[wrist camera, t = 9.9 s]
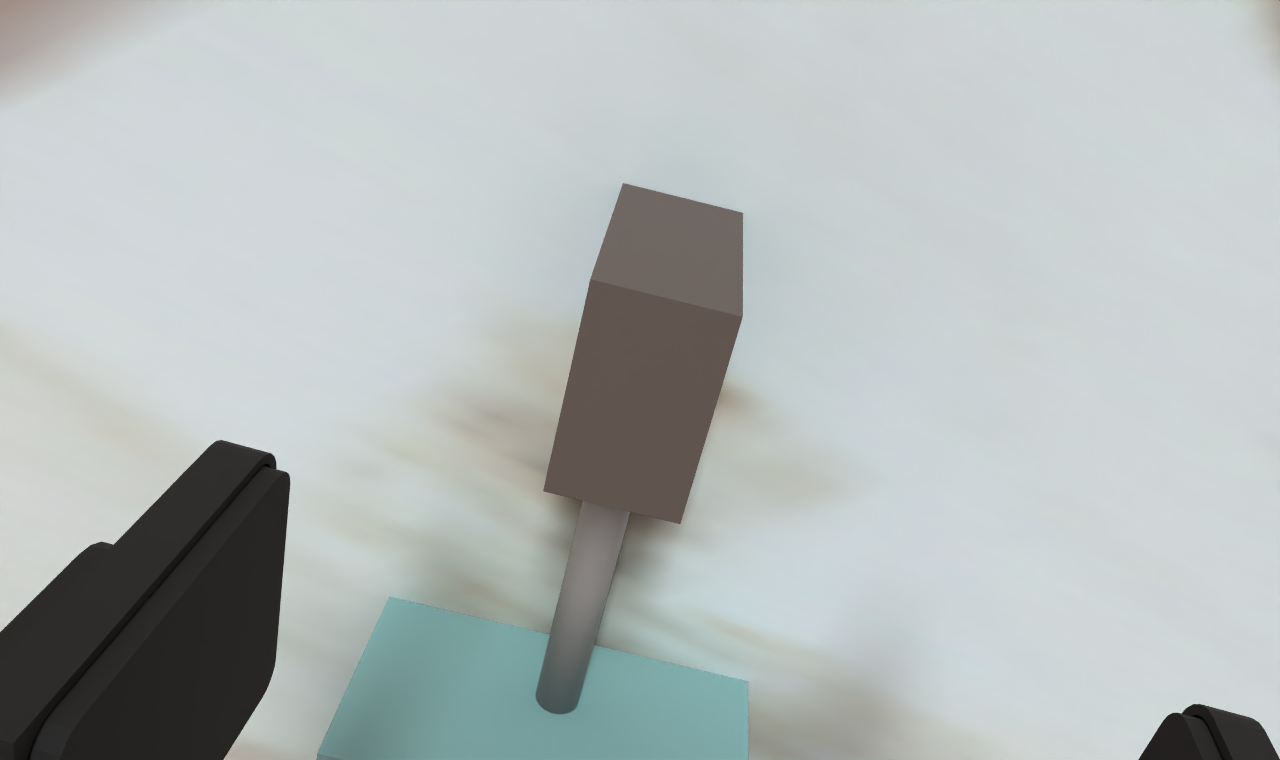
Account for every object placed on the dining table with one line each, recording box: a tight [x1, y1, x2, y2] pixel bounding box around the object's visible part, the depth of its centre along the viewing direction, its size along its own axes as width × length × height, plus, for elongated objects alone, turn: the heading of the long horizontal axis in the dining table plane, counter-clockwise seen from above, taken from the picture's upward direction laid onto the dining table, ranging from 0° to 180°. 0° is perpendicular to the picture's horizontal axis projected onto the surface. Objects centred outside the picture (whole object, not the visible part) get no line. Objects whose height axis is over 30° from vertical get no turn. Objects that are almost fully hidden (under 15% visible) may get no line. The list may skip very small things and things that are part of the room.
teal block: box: [317, 183, 748, 760], centre depth 23 cm, size 9×18×5 cm, turn 167°
